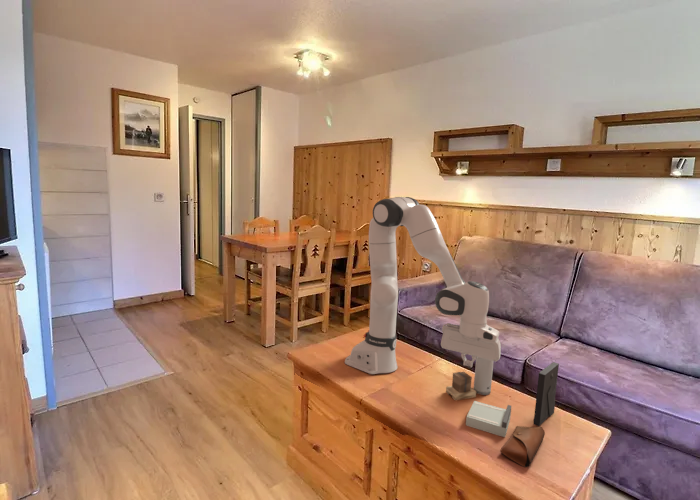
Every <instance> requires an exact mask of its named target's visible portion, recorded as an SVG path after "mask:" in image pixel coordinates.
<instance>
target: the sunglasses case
mask: <svg viewBox="0 0 700 500" xmlns="http://www.w3.org/2000/svg"><path fill="white" fill-rule="evenodd" d="M545 435H546V432H545V430H544V428H543V427H542V426H537V427H532V426H531V427H530V426H518V425H517V426H515V428H514V430H513V432H512V434H511V435H510V436H509V438H508V439H507V441H506V442H505V443H504V444H503V446H502V447H501V448H500V450H499V452H500V453H501V454H502V455H503V456H505V457H507V458H508V459H510V460H511V461H513V462H515V463H516V464H518V465H520V466H521V467H524V468H528V467H530V465H531V463H532V462H533V460H534V458H535V456H536V454H537V453H538V452H537V451H538V450H539V447H540V446H541V444H542V442H543V441H544V437H545Z"/></svg>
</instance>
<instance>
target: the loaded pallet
mask: <svg viewBox="0 0 700 500" xmlns="http://www.w3.org/2000/svg"><path fill="white" fill-rule="evenodd" d="M472 379H473V378H472V376H471V375H469V373H467V372H465V371H457V372H452V383H451V385H449V386H446V387H445V393H447V396H449V395H450V396H451V397H452V399H453V400H454V401H459V400H467V399H473V398H477V393H476V391H475V390H474V387H472V381H473V380H472Z"/></svg>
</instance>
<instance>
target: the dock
mask: <svg viewBox="0 0 700 500" xmlns="http://www.w3.org/2000/svg"><path fill="white" fill-rule="evenodd" d="M511 414H512V405H510V404H507V406H506V408H503V407H500V406H499V407H498V406H495V405H491V404H489V403H488V404H487V403H484V402H480V401H477V400H473V403H472V405H471V406H470V408H469V411H468V413H467V415H466V419H465V426H467V427H470V428H473V429H476V430H479V431H483V432H487V433H490V434H493V435H496V436H500V437H501V438H506V436H507V432H508V429H509V425H510V422H511Z"/></svg>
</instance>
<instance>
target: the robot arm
mask: <svg viewBox="0 0 700 500" xmlns="http://www.w3.org/2000/svg"><path fill="white" fill-rule="evenodd" d="M399 226H400V227H405V228H406V229H407V232H408V235H409V238H410V240H411V242H412V245H413V247H414V249H415V251H416V252H417V253H418V255H419V256H421V257H422V258H425V259H427V260H429V261H431V262H433V263H434V264H435V266H437V268H438V270H439V272H440V274H441V276H442V278H443V281H444V283H445V285H446V287H445V288H443V289H441V290H440V291H438V292H437V293H436V295H435V298H434V304H435V308H436V309H437V310H438V311H439V312H440V314H443V315H447V316H459V317H460V319H459V325H458V324H453V323H449V322H447V323H444V324H443V325H442V328H441V329H442V330H441V332H442V337H441V341H440V346H441V348H442V349H445V350H449V351H453V352H456V353H460V357H461V359H462V361H463V364H462V365H463V366H465V367H468V368H472V367H473V366H474V365H473V364H474V362H476V358H477V357H480V358H483V359H487V360H491V361H493V362H495V363H496V362H498V361H499V360H500V358H501V355H502V354H501V353H502V352H501V351H502V350H501V349H502V347H501V346H502V345H501V340H500V339H499V336H500V331H499V330H498V329H496V328H494V327H492V326H490V325H488V324H487V321H488V320H487V315H488V312H489V307H490V306H489V305H490V291H489V289H488V287H487V286H485V285H484V284H483V283H480V282H478V281H473V280H472V281H471V280H470V281H467V282H465V280H464V279H463V277H462V275H461V272H460V271H459V269H458V266H457V264H456V263H455V259H454V258H453V257H452V254H451V251H450V250H449V248H448V246H447V244H446V242H445V239H444V237H443V234H442V232H441V231H442V230H440V227H439V224H438V222H437V219H436V218H435V216H434V214H433V212H432V211H431V209H430V208H429V206H427V205H425V204H420V203H419V201H418V200H417V199H415V198H413V197H409V196H404V197H403V196H395V197H390V198H384V199H381V200H379V201H377V202H375V204H374V206H373V207H372V218H371V220H370V221H369V228H368V250H369V256H368V257H369V266H370V267H369V269H370V280H371V284H370V285H371V286H370V300H369V301H370V302H369V304H370V306H369V326H368V331H367V332H365V333H364V334H363V335H362V336H363V337H362V338H364V340H362V341H361V342H359V343H357V344H356V345H354V346H353V347H352V349H351V352H350V354H349V355H348V356H347V357H345V360H344V364H345V365H347V366H349V367H352V368H355V369H357V370H360V371H362V372H365V373H368V374H369V375H375V374H389V373H392V372H395V371H396V370H397V369H398V362H397V358H396V357H397V356H396V347H397V334H396V330H397V314H398V305H399V302H398V301H399V285H398V261H397V259H398V258H397V240H396V239H397V237H396V233H397V232H396V231H397V228H398V227H399ZM466 355H469V356H471V359H472V360H469V359H468V358H467V357H466Z"/></svg>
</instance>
